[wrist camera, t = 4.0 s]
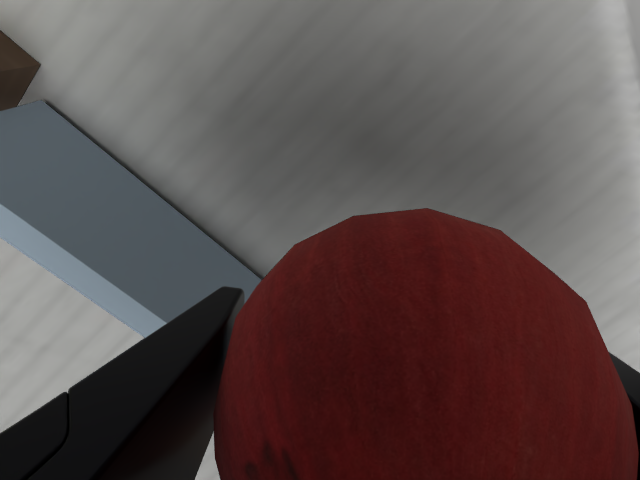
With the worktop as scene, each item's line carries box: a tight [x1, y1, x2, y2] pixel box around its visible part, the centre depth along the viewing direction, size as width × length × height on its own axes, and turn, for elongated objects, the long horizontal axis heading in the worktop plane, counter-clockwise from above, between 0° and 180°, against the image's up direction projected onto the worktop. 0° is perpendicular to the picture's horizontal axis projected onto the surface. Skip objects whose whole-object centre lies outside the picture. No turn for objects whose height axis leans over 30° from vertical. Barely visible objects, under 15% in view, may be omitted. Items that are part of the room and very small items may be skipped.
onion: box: [213, 208, 639, 480], centre depth 6 cm, size 6×6×8 cm
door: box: [0, 100, 262, 338], centre depth 18 cm, size 18×1×6 cm, turn 46°
